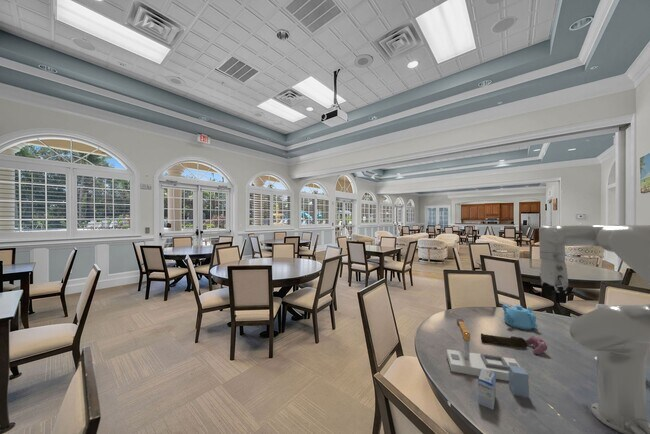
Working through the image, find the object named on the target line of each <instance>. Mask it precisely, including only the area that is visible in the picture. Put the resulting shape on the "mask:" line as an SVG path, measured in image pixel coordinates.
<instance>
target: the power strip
mask: <svg viewBox="0 0 650 434" xmlns="http://www.w3.org/2000/svg"><path fill="white" fill-rule="evenodd" d="M446 357H447V360H448V364H449V368H450V372H454V373H460V374H466V375H471V376H477V377H479V374H480V371H481V368H483V369H486V370H489V371H492V372H494V373H495V374H496V380H502V381H506V382H507V381H508V382H509V365H510V366H517V367H521V366H520V364H519V363H518V361H516V359H515V358H511V357H505V356H500V355H494V354H487V353H475V352H470V341H466V340H464V339H463V351H460V350H454V349H446Z"/></svg>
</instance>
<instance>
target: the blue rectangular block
mask: <svg viewBox="0 0 650 434" xmlns="http://www.w3.org/2000/svg"><path fill="white" fill-rule="evenodd" d="M529 382H530V381H529V374H528V371H526V369H525V368H524V367H523V366H520V367H517V366H510V365H509V381H508V387H509V389H510V390H511V393H512V394H513V396H518V397H524V398H530V392H529V388H530V385H529Z"/></svg>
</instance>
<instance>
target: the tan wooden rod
mask: <svg viewBox="0 0 650 434" xmlns="http://www.w3.org/2000/svg"><path fill="white" fill-rule="evenodd" d="M456 325H457V327H458V328H459V331H460V333H461V335H462V339H463V341H464V340H466V341H469V342H470V341H471V333H470V332H469V331H468V329H467V327H466V325H465V320H464V319H463V318H456Z"/></svg>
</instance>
